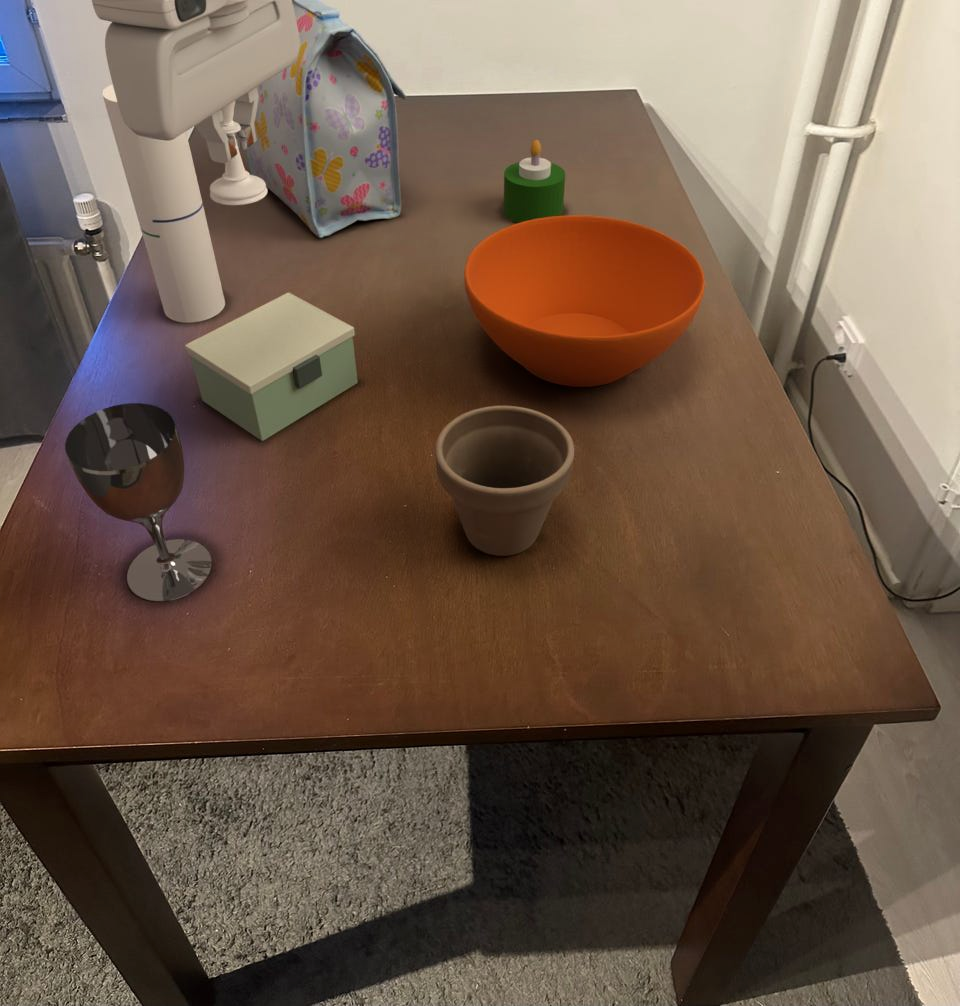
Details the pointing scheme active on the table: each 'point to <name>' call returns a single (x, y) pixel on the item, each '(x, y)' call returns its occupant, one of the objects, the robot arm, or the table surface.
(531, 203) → the candle
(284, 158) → the lunch bag
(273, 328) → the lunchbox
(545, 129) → the table surface
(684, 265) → the bowl
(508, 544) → the flower pot
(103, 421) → the wine glass
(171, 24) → the robot arm
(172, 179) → the cylindrical container
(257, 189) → the chess piece
